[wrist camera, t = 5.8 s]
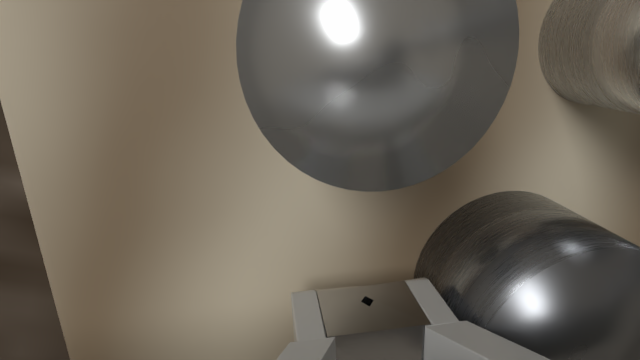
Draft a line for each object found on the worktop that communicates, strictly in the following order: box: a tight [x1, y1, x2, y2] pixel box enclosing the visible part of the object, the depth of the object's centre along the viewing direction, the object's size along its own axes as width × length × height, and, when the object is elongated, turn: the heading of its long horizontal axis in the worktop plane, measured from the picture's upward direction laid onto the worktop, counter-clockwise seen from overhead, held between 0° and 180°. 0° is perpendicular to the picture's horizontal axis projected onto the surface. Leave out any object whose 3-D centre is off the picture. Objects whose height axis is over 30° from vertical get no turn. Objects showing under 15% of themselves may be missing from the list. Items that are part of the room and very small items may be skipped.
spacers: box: [236, 0, 640, 192], centre depth 8 cm, size 18×14×4 cm
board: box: [0, 0, 640, 360], centre depth 11 cm, size 24×16×1 cm, turn 92°
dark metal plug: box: [414, 191, 640, 360], centre depth 9 cm, size 4×4×3 cm
